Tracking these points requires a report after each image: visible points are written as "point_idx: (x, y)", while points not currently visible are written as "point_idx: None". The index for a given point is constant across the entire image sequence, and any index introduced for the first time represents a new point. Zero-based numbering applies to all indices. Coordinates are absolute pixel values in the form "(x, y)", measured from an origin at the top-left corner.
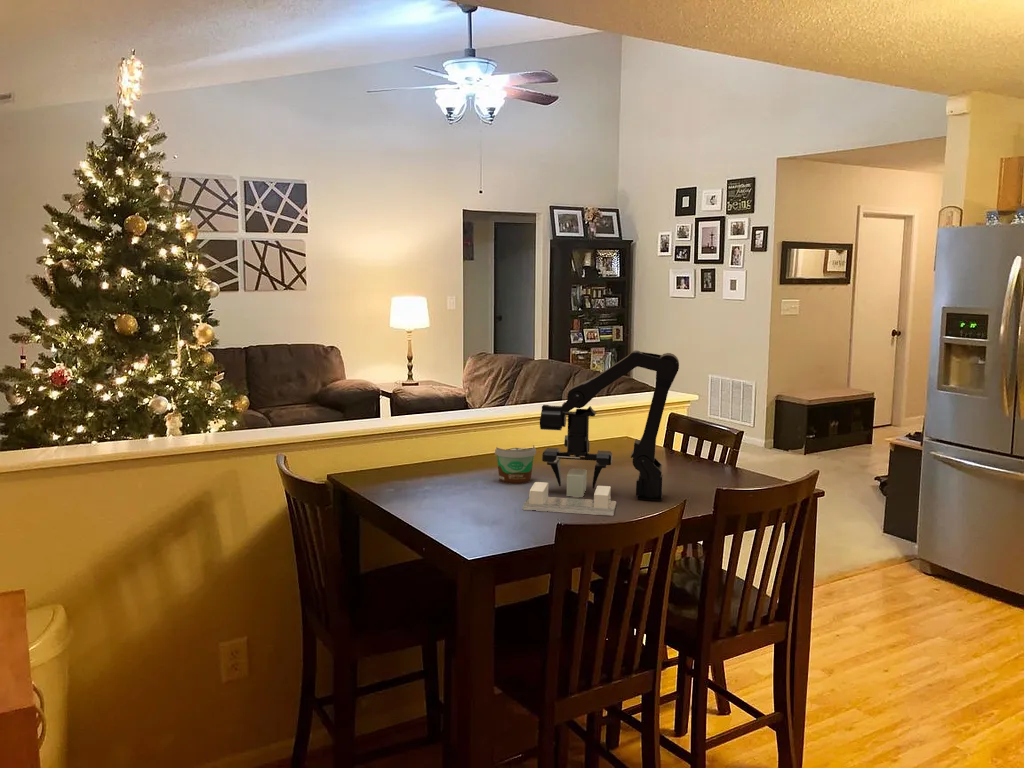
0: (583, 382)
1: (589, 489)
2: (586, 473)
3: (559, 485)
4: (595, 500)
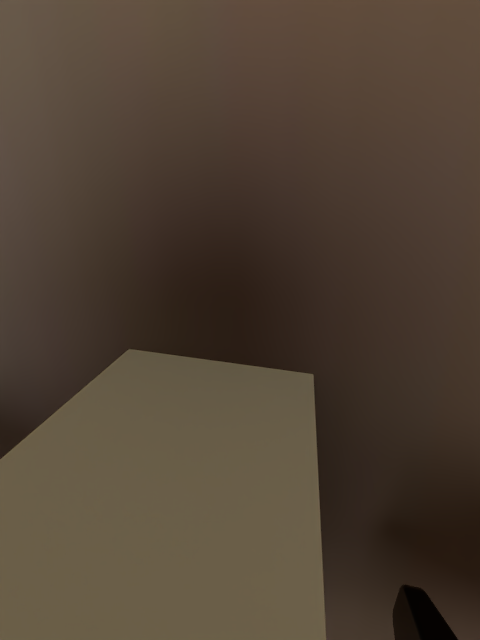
0: None
1: (358, 347)
2: (323, 591)
3: None
4: None
